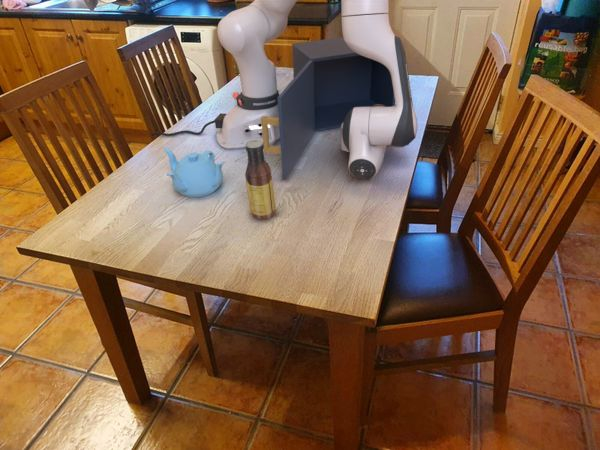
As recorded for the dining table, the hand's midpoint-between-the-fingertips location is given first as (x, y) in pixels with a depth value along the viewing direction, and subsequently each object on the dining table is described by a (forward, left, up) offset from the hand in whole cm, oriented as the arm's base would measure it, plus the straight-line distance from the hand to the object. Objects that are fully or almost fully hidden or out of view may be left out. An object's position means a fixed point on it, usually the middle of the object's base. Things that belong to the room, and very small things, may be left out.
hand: (378, 122), depth 140 cm
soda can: (-1, -1, -7) cm, 7 cm away
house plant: (-27, +52, -7) cm, 59 cm away
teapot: (-58, -7, -7) cm, 58 cm away
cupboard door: (-27, +3, -7) cm, 28 cm away
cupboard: (-2, +23, -7) cm, 24 cm away
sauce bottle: (-44, -25, -7) cm, 50 cm away
